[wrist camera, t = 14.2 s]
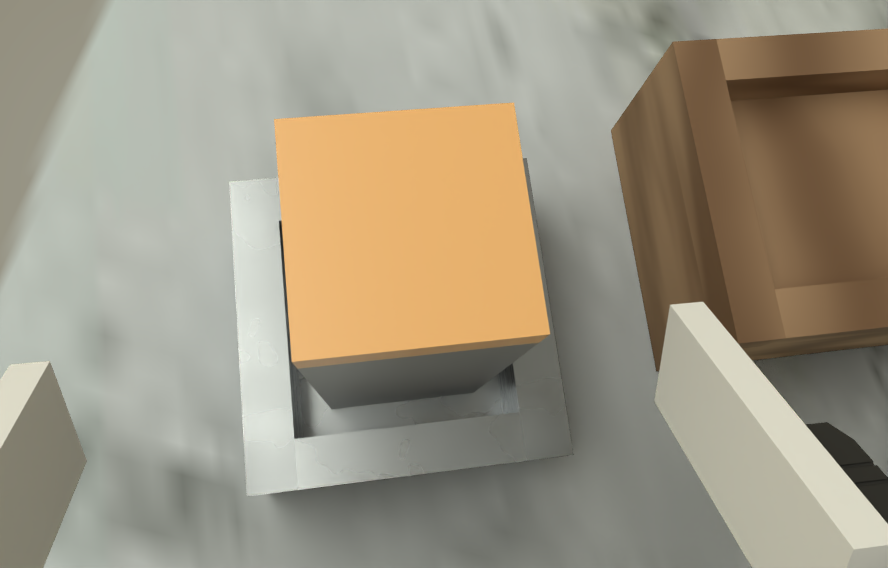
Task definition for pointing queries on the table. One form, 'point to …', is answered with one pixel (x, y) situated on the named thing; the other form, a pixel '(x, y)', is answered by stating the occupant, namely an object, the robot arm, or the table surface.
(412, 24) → the table surface
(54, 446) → the robot arm
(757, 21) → the table surface
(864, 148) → the upper socket
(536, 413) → the lower socket
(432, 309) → the plug
